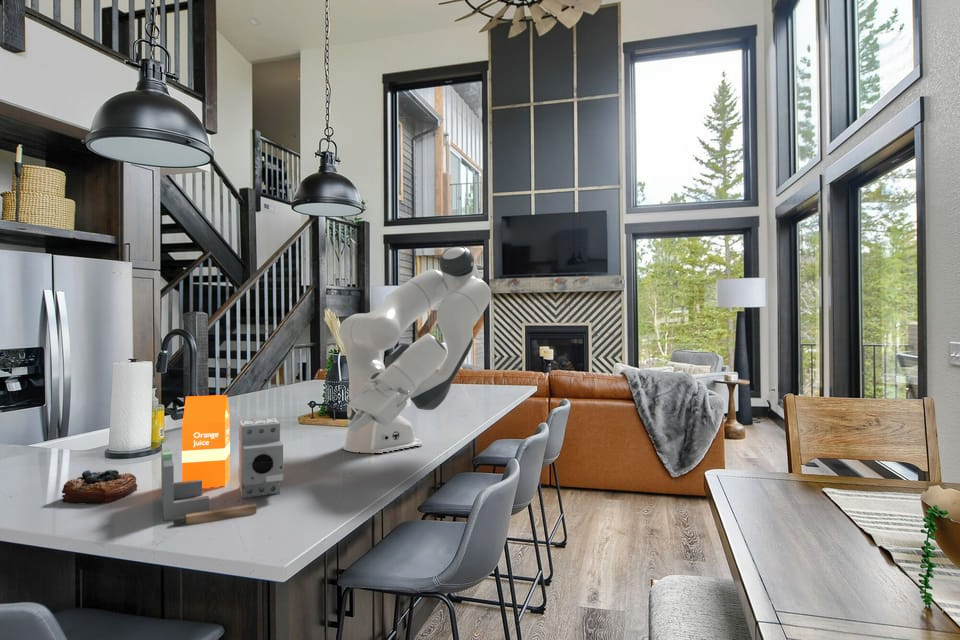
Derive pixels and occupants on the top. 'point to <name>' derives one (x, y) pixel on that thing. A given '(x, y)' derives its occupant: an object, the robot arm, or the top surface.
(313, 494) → the top surface
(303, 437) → the top surface
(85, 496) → the pastry
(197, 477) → the orange juice
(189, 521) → the stylus
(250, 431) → the circuit breaker
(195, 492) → the bay
